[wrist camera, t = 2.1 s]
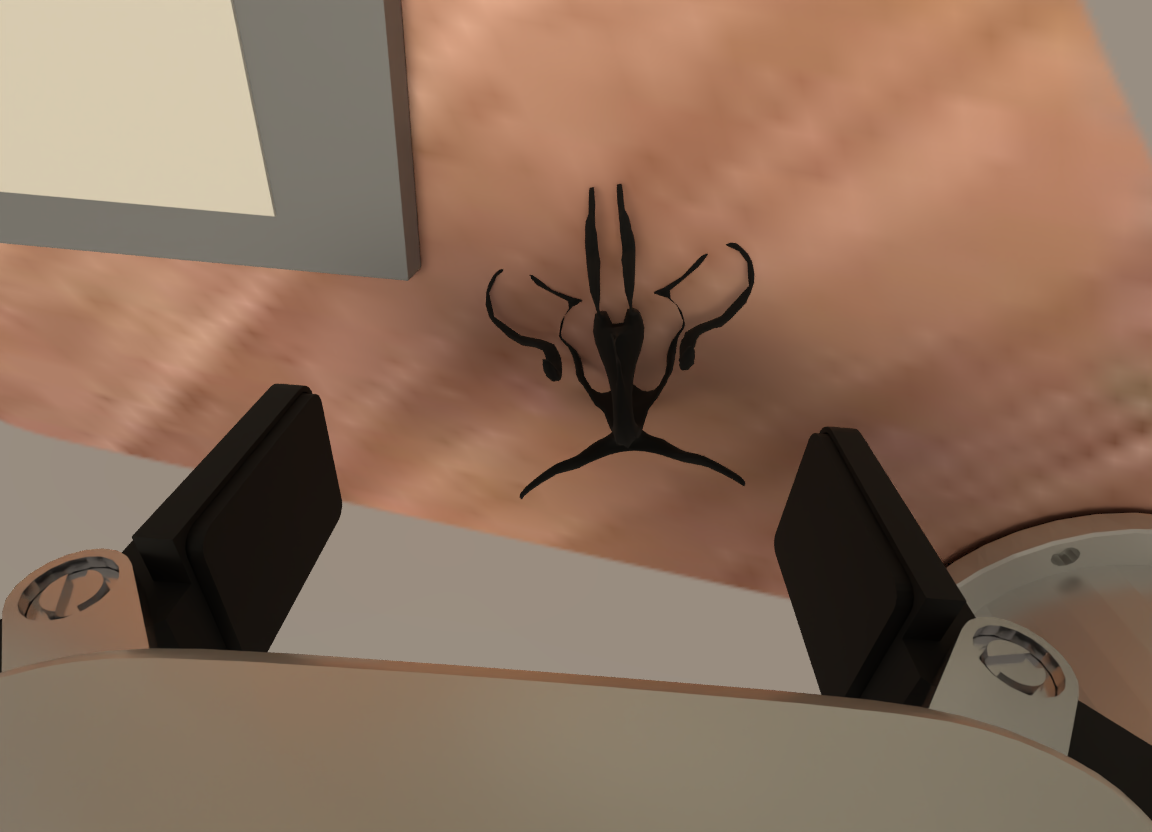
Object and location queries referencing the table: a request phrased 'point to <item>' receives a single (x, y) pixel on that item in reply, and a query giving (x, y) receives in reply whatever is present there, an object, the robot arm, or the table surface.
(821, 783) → the robot arm
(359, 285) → the table surface
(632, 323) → the creature
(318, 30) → the grey picture mat
